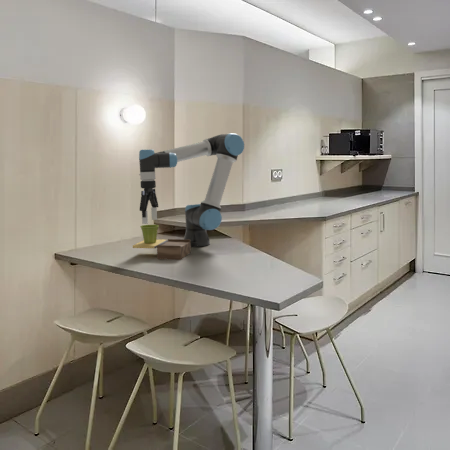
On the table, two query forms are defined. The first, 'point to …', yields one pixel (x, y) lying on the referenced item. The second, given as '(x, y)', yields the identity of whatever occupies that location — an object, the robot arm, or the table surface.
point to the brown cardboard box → (174, 249)
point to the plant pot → (149, 233)
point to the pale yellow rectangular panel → (149, 244)
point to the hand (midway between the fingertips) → (149, 221)
